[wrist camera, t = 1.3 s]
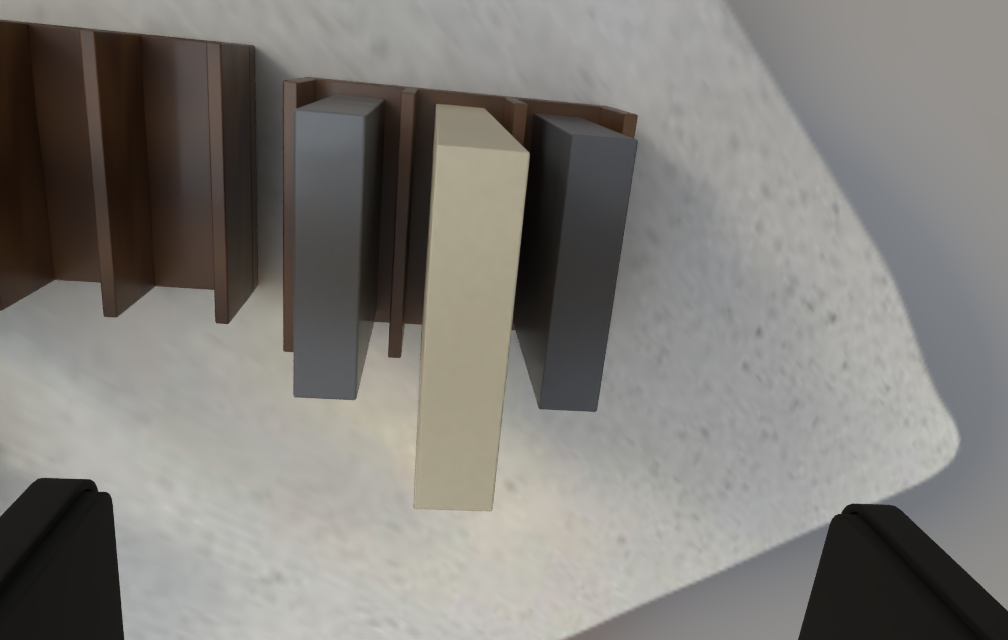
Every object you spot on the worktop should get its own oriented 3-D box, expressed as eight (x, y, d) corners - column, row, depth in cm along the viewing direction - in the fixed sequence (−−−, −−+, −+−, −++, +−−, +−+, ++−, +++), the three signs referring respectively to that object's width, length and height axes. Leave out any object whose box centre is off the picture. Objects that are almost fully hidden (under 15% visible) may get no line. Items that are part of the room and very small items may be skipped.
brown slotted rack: (306, 76, 30) (247, 85, 20) (607, 106, 31) (682, 126, 22) (304, 310, 33) (252, 410, 24) (577, 327, 34) (630, 427, 25)
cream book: (435, 103, 30) (437, 144, 16) (485, 108, 30) (530, 152, 16) (422, 314, 33) (413, 509, 18) (467, 317, 33) (492, 512, 19)
